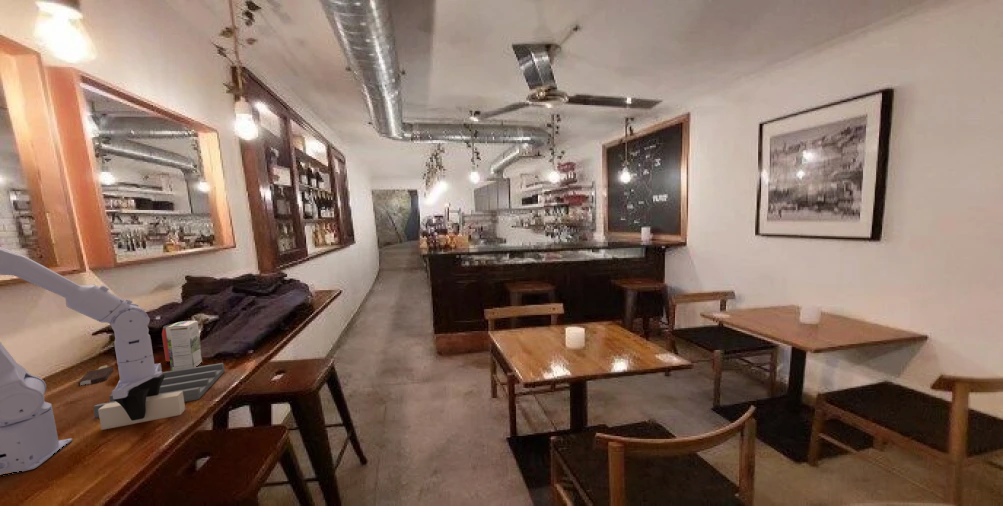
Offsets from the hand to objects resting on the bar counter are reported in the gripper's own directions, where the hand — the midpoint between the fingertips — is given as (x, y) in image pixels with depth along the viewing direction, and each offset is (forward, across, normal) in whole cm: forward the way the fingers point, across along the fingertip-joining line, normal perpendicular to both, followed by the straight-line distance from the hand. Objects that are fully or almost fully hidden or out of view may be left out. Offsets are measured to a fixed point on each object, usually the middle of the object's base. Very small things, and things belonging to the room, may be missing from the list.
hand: (144, 413), depth 82 cm
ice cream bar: (+2, +38, +28) cm, 47 cm away
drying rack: (+1, +15, +2) cm, 15 cm away
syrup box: (+2, +32, +4) cm, 32 cm away
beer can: (+2, +42, +10) cm, 43 cm away
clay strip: (+2, 0, 0) cm, 2 cm away
